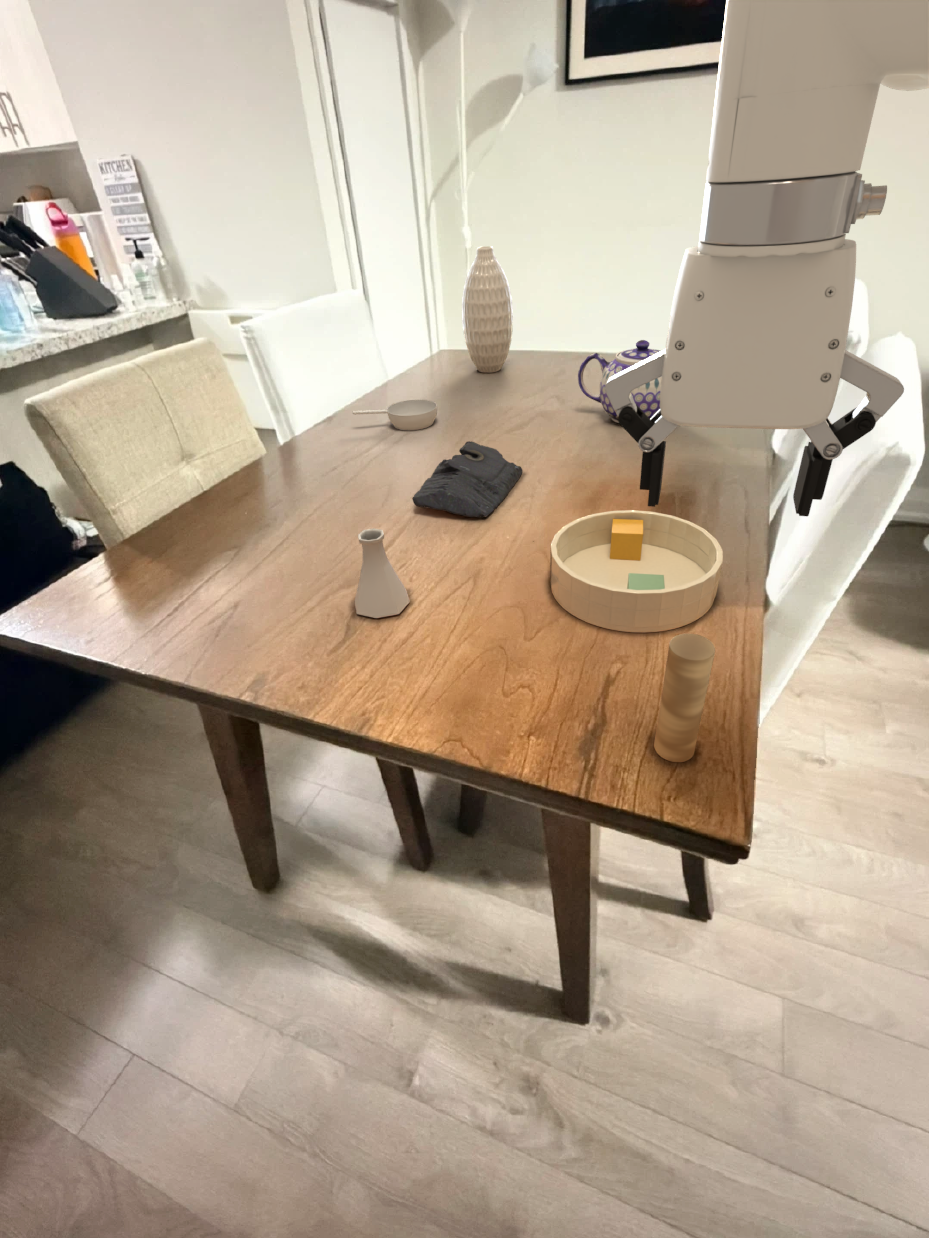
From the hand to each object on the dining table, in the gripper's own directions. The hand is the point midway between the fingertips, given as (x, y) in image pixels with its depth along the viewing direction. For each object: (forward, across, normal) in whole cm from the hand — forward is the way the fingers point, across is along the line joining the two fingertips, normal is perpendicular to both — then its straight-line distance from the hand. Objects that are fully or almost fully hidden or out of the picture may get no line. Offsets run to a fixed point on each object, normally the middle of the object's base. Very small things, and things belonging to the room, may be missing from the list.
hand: (724, 502), depth 45 cm
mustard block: (+24, +9, -34) cm, 42 cm away
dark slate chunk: (+25, +38, -51) cm, 68 cm away
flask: (+24, +38, -16) cm, 48 cm away
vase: (+24, +55, -124) cm, 138 cm away
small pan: (+24, +63, -80) cm, 104 cm away
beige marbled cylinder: (+25, +1, 0) cm, 25 cm away
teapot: (+25, +14, -91) cm, 95 cm away
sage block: (+24, +6, -20) cm, 32 cm away
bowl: (+25, +8, -27) cm, 37 cm away
